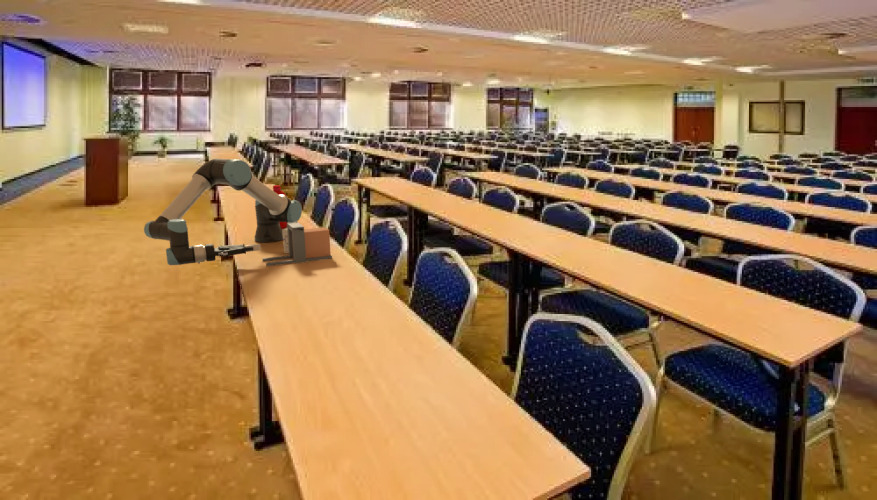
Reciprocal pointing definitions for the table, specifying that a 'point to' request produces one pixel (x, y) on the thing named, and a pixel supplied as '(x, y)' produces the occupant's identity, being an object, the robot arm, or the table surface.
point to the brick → (317, 242)
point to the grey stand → (295, 247)
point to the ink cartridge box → (285, 240)
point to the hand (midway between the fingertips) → (260, 247)
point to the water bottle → (278, 190)
